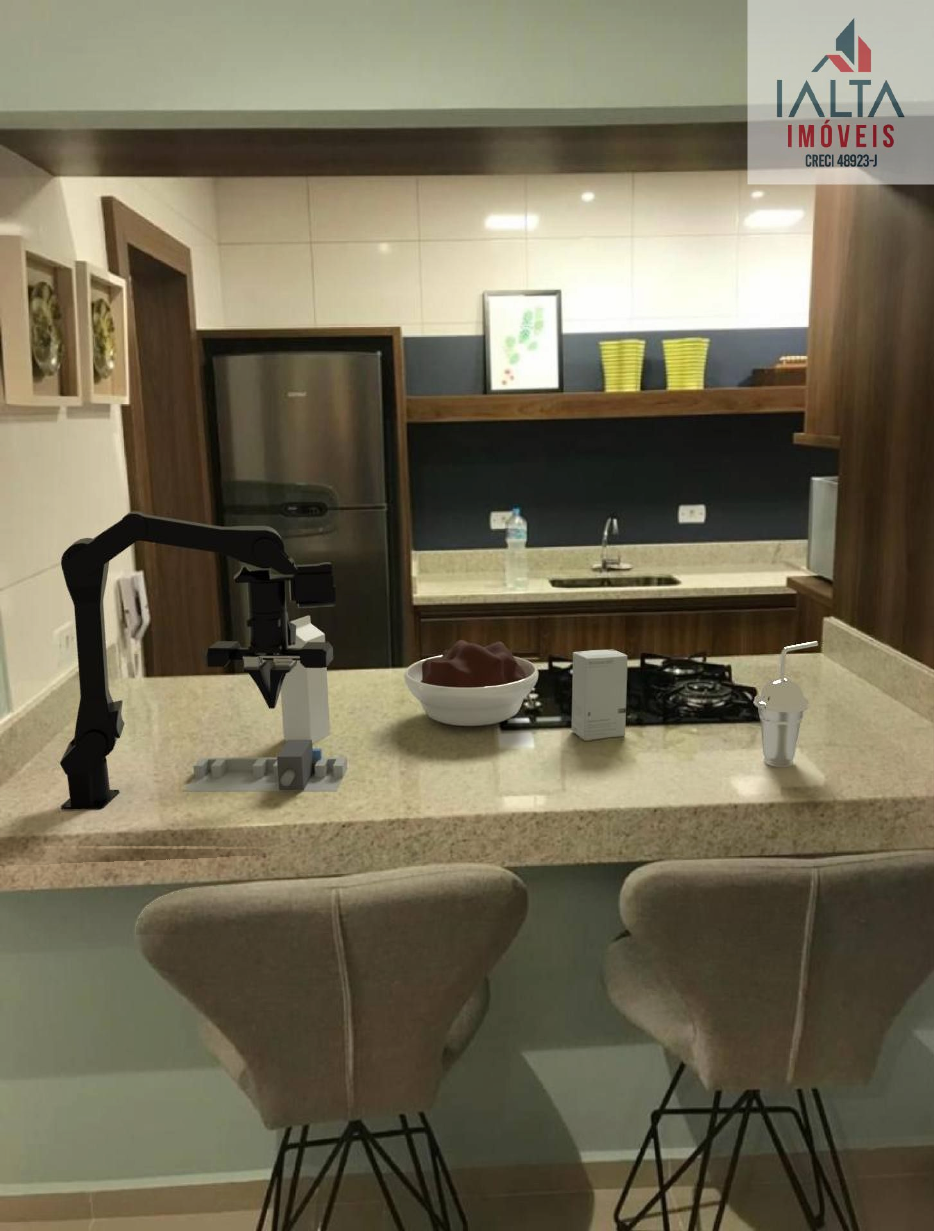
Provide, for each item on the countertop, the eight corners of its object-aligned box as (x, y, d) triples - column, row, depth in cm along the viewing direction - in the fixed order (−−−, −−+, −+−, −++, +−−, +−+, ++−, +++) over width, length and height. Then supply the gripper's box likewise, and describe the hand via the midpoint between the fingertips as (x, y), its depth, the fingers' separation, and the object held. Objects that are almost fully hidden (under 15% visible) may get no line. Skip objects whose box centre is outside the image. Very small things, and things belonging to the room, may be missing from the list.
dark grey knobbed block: (299, 798, 142) (297, 763, 141) (274, 798, 142) (272, 763, 141) (313, 771, 152) (311, 739, 151) (290, 772, 152) (288, 739, 151)
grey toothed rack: (336, 792, 145) (335, 769, 144) (183, 792, 146) (180, 769, 145) (347, 770, 153) (346, 748, 153) (202, 770, 155) (200, 748, 154)
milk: (283, 741, 168) (274, 620, 163) (303, 731, 173) (295, 613, 168) (312, 746, 165) (303, 623, 160) (331, 735, 170) (323, 616, 166)
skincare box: (584, 742, 164) (584, 659, 161) (570, 731, 170) (570, 651, 166) (627, 736, 166) (629, 654, 163) (612, 725, 172) (613, 646, 169)
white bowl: (378, 719, 179) (375, 642, 175) (473, 690, 195) (471, 619, 192) (470, 751, 161) (468, 665, 158) (566, 716, 178) (566, 638, 174)
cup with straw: (756, 749, 158) (761, 633, 154) (813, 757, 154) (820, 638, 150) (746, 766, 151) (751, 645, 147) (805, 775, 147) (812, 651, 143)
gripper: (338, 600, 151) (341, 693, 154) (224, 599, 152) (229, 692, 156) (323, 614, 140) (327, 714, 144) (200, 613, 141) (207, 713, 145)
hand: (272, 707), depth 147 cm, fingers closed
